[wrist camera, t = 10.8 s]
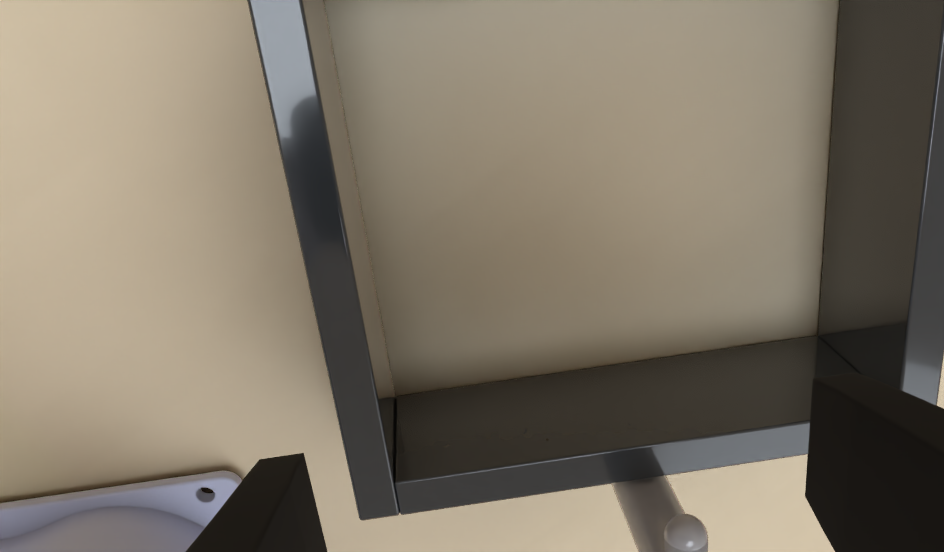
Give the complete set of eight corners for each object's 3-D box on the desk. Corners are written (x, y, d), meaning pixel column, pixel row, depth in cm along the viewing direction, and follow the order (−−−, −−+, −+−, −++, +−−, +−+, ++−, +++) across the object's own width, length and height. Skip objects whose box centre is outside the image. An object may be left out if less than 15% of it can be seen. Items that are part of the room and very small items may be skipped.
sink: (375, 474, 23) (365, 677, 17) (269, -53, 17) (190, -60, 11) (844, 405, 23) (1013, 575, 17) (889, -130, 18) (1167, -181, 11)
